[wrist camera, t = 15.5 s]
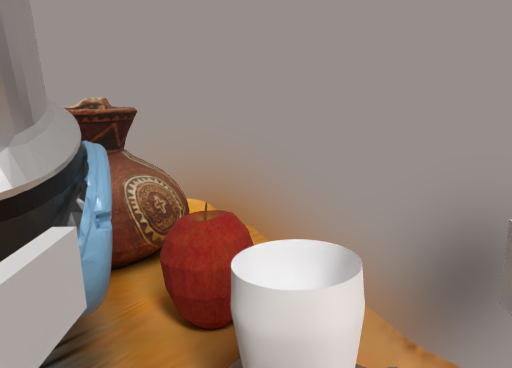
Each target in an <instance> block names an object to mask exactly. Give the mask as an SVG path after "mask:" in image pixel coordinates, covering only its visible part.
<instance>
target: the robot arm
mask: <svg viewBox="0 0 512 368" xmlns="http://www.w3.org/2000/svg"><path fill="white" fill-rule="evenodd" d="M111 210H112V188H111V175H110V166H109V160H108V156H107V152H106V150H105V148H104V147H103V146H102V145H100V144H97V143H91V142H87V141H81V132H80V127H79V125H78V123H77V121H76V119H75V118H74V116H73V115H72V114H71V113H70V112H68V111H67V110H66V109H64V108H63V107H61V106H60V105H58V104H56V103H55V102H53V101H51V100H50V99H48V98H47V97H46V92H45V86H44V80H43V75H42V69H41V64H40V58H39V52H38V46H37V41H36V35H35V29H34V23H33V18H32V12H31V6H30V1H29V0H0V368H39V367H40V365H41V364H42V363H43V362H44V360H45V359H46V358H47V357H48V355H49V354H50V353H51V352H52V350H53V349H54V348H55V347H56V345H57V344H58V343H59V342H60V340H61V339H62V338H63V337H64V335H65V334H66V333H67V332H68V330H69V329H70V328H71V327H72V325H73V324H74V323H75V322H76V320H77V319H78V318H79V317H82V316H85V315H88V314H90V313H92V312H93V311H95V310H96V309H97V308H98V307H99V306H100V305H101V304H102V302H103V301H104V299H105V297H106V294H107V291H108V287H109V282H110V274H111V262H112V224H111V221H110V220H111V218H112V211H111ZM500 304H501V305H502V306H503V307H504V308H505V309H506V310H507V311H508V312H509V313H510V314H511V315H512V220H509V227H508V235H507V243H506V253H505V261H504V270H503V278H502V288H501V296H500Z"/></svg>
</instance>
